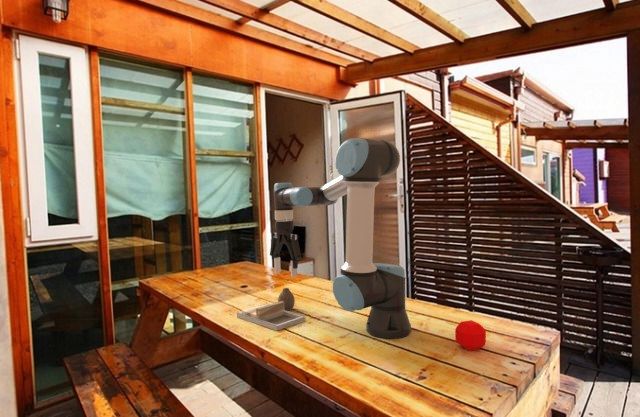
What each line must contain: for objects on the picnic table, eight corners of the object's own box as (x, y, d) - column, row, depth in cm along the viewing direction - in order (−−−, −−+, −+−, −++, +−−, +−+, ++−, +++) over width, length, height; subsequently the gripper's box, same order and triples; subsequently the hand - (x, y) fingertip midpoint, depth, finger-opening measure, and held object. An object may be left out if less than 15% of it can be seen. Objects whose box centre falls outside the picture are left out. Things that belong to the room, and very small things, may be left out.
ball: (490, 350, 117) (490, 325, 117) (467, 354, 115) (467, 328, 115) (473, 341, 125) (472, 317, 125) (451, 344, 123) (451, 320, 123)
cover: (284, 311, 155) (284, 301, 155) (259, 319, 146) (258, 309, 146) (266, 306, 163) (266, 297, 163) (241, 313, 154) (241, 303, 154)
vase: (292, 312, 159) (291, 291, 159) (276, 311, 161) (275, 290, 160) (296, 307, 166) (296, 286, 166) (281, 306, 167) (280, 286, 167)
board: (304, 320, 149) (304, 315, 148) (276, 330, 138) (276, 325, 138) (264, 308, 165) (264, 304, 165) (236, 316, 155) (236, 312, 155)
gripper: (309, 220, 157) (311, 276, 158) (273, 219, 172) (275, 269, 173) (295, 222, 151) (297, 279, 152) (260, 220, 166) (261, 272, 167)
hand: (285, 274), depth 163 cm, fingers open, 9 cm apart
